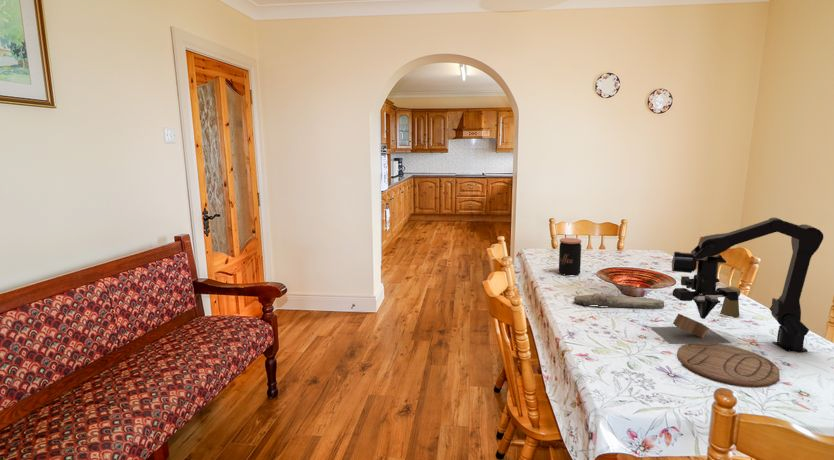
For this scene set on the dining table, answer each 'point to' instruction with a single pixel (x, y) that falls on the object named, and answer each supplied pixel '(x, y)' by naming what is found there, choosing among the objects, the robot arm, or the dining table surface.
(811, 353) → the dining table surface
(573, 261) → the coffee jar
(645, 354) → the dining table surface
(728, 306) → the cork
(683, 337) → the rubber mat
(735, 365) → the trivet
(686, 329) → the walnut block
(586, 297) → the long grey stone
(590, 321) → the dining table surface
